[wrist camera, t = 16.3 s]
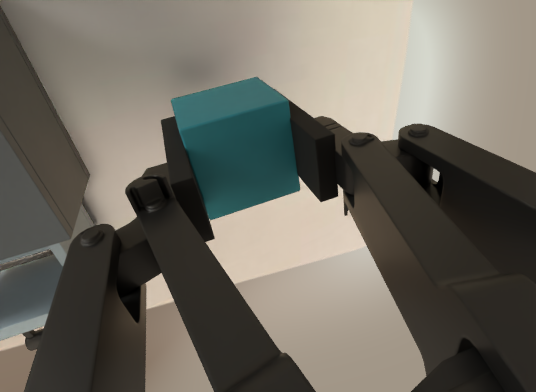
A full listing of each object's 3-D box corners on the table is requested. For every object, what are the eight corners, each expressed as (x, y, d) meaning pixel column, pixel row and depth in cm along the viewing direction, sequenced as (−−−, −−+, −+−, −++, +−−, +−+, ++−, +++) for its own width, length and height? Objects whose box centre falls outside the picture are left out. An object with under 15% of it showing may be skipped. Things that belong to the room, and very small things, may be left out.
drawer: (134, 277, 37) (133, 337, 30) (24, 314, 35) (-3, 386, 28) (48, 121, 26) (18, 163, 20) (-118, 160, 24) (-211, 220, 18)
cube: (170, 98, 16) (178, 129, 12) (257, 76, 16) (288, 99, 13) (196, 176, 18) (210, 221, 15) (271, 153, 19) (301, 191, 15)
